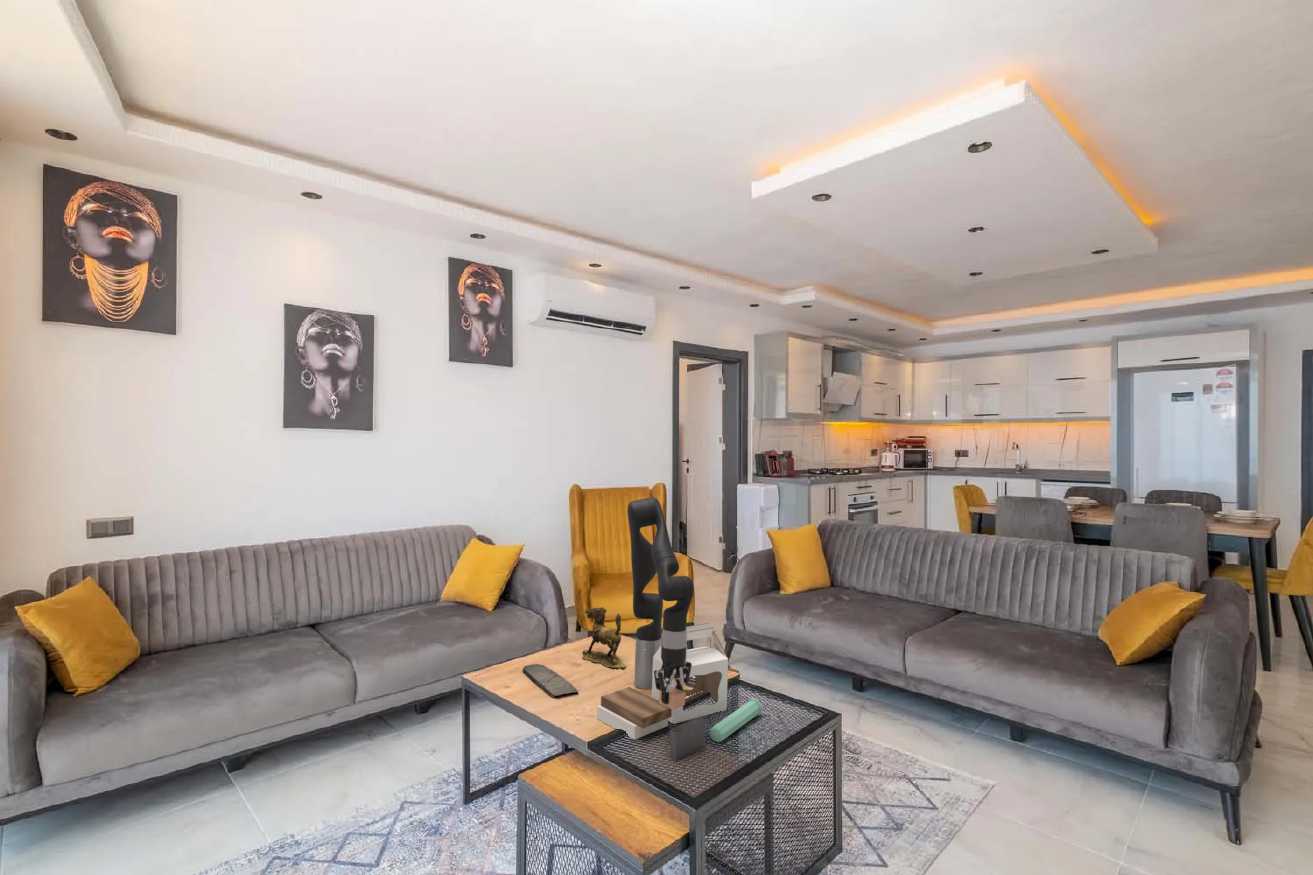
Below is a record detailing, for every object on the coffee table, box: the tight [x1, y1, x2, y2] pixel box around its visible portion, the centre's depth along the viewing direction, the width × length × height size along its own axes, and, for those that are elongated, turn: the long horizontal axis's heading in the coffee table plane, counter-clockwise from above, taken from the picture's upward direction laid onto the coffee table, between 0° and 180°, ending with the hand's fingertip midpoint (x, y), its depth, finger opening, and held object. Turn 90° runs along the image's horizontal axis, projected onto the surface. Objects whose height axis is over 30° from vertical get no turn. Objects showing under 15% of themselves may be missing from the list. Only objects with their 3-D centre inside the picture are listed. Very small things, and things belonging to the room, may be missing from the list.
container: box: [709, 697, 763, 743], centre depth 197 cm, size 6×6×25 cm
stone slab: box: [522, 663, 579, 699], centre depth 228 cm, size 10×3×30 cm
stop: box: [669, 717, 706, 762], centre depth 181 cm, size 12×2×8 cm, turn 134°
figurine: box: [581, 606, 627, 671], centre depth 251 cm, size 13×25×20 cm, turn 42°
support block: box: [659, 686, 686, 710], centre depth 186 cm, size 5×6×4 cm
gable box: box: [651, 622, 729, 725], centre depth 209 cm, size 22×13×28 cm, turn 122°
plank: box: [600, 686, 672, 728], centre depth 197 cm, size 12×20×3 cm, turn 44°
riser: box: [596, 704, 669, 740], centre depth 198 cm, size 14×18×4 cm
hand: (671, 700), depth 186 cm, fingers closed on support block, 5 cm apart
